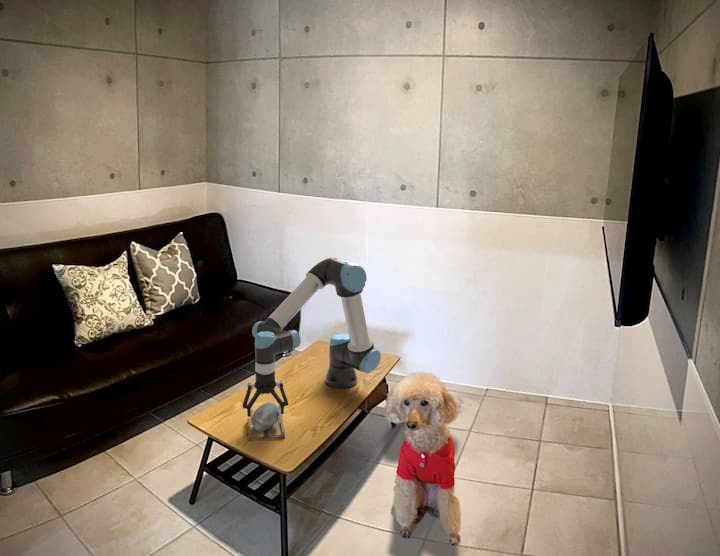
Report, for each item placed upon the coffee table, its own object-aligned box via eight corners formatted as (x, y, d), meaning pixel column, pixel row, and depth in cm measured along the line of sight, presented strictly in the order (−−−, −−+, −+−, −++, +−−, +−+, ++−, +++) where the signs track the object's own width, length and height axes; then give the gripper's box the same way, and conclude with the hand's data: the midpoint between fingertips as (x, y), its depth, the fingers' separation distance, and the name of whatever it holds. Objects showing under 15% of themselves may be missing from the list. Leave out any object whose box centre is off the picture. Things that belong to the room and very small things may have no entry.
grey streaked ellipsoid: (260, 407, 252) (267, 392, 246) (279, 419, 251) (287, 404, 245) (243, 428, 241) (250, 414, 235) (263, 442, 240) (271, 427, 234)
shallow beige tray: (281, 419, 253) (281, 414, 252) (284, 438, 239) (284, 432, 238) (247, 422, 250) (247, 416, 249) (248, 441, 236) (248, 435, 235)
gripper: (293, 365, 244) (293, 415, 249) (235, 368, 239) (236, 419, 245) (295, 373, 237) (295, 424, 242) (235, 376, 232) (236, 429, 238)
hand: (265, 422), depth 244 cm, fingers closed on grey streaked ellipsoid, 10 cm apart
